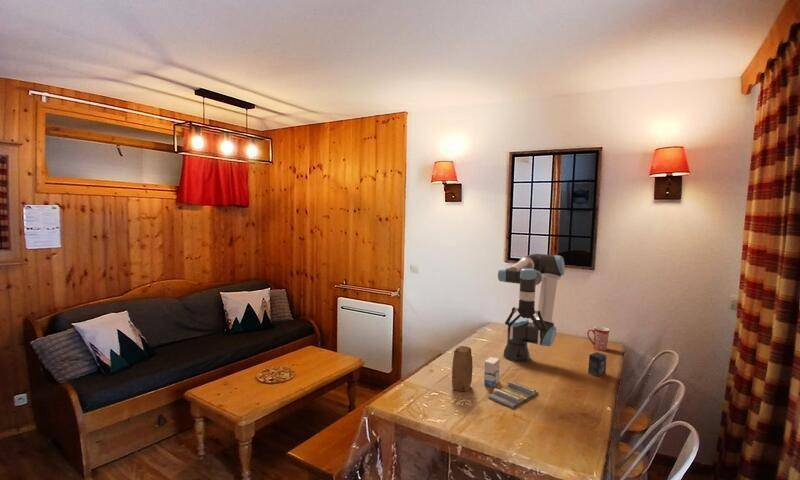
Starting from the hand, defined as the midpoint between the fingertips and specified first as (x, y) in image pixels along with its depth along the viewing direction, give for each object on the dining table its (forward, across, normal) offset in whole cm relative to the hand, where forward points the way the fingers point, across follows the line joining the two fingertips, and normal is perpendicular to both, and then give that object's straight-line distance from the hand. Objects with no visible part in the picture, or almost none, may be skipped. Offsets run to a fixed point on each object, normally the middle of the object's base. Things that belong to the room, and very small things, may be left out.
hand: (524, 341), depth 196 cm
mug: (+20, +31, +79) cm, 87 cm away
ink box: (+22, -13, -9) cm, 27 cm away
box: (+21, +32, +33) cm, 51 cm away
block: (+22, -24, -22) cm, 40 cm away
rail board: (+21, 0, -18) cm, 28 cm away
